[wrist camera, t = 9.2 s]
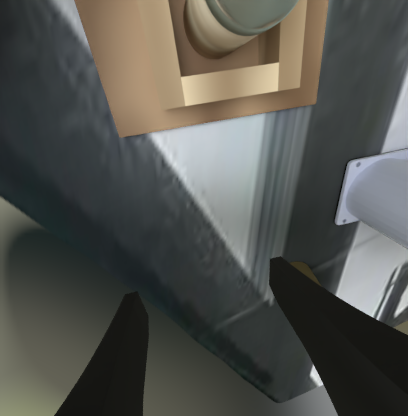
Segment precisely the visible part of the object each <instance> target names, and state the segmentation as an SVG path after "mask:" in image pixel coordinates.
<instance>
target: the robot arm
mask: <svg viewBox="0 0 408 416" xmlns="http://www.w3.org/2000/svg"><path fill="white" fill-rule="evenodd" d="M356 164H357V165H356ZM359 220H361V221H362V222H364V223H366V224H367V225H369V226H371V227H372V228H374V229H376V230H377V231H379V232H380V233H382V234H384V235H385V236H387V237H389V238H390V239H392V240H394V241H395V242H397V243H398V244H400V245H402V246H403V247H405V248H407V249H408V149H404V150H399V151H394V152H389V153H384V154H379V155H374V156H369V157H365V158H360V159H355V160H351V161H350V162H349V163H348V164H347V168H346V172H345V177H344V181H343V186H342V190H341V195H340V200H339V204H338V209H337V213H336V218H335V224H337V225H342V224H346V223H351V222H355V221H359ZM269 285H270V287H271V290H272V292H273V294H274V296H275V298H276V300H277V302H278V304H279V306H280V307H281V309H282V311H283V312H284V314H285V316H286V317H287V319H288V321H289V322H290V324H291V326H292V327H293V329H294V330H295V332H296V334H297V335H298V337H299V339H300V340H301V342H302V344H303V345H304V347H305V349H306V351H307V352H308V354H309V356H310V358H311V360H312V362H313V364H314V366H315V368H316V370H317V372H318V374H319V376H320V378H321V380H322V382H323V384H324V386H325V388H326V390H327V393H328V394H329V397H330V399H331V401H332V403H333V405H334V407H335V410H336V412H337V414H338V416H408V335H406V334H404V333H402V332H400V331H398V330H396V329H394V328H392V327H390V326H388V325H386V324H384V323H382V322H380V321H378V320H376V319H374V318H373V317H371V316H369V315H367V314H365V313H364V312H362V311H360V310H358V309H356V308H355V307H353V306H351V305H350V304H348V303H346V302H345V301H343V300H341V299H340V298H338V297H337V296H335V295H334V294H332V293H331V292H329V291H327V290H326V289H325V288H323V287H322V286H320V285H319V284H317V283H316V282H314V281H313V280H312V279H310V278H309V277H307V276H306V275H305V274H303V273H302V272H301V271H299V270H298V269H297V268H295V267H294V266H293V265H291V264H290V263H289V262H287V261H286V260H285V259H283V258H282V257H281V256H280V257H276V258H272V259H270V275H269ZM148 330H149V328H148V314H147V312H146V309H145V307H144V305H143V303H142V301H141V298H140V296H139V294H138V292H133V293H129V294H125V296H124V297H123V299H122V301H121V303H120V306H119V308H118V310H117V312H116V314H115V316H114V318H113V320H112V322H111V324H110V326H109V328H108V330H107V331H106V333H105V335H104V337H103V339H102V341H101V343H100V344H99V346H98V348H97V350H96V351H95V353H94V355H93V357H92V358H91V360H90V362H89V364H88V365H87V367H86V368H85V370H84V372H83V373H82V375H81V376H80V378H79V380H78V381H77V383H76V384H75V386H74V388H73V389H72V390H71V392H70V394H69V395H68V396H67V398H66V400H65V401H64V402H63V404H62V405H61V407H60V408H59V410H58V411H57V413H56V414H55V415H54V416H143V394H144V382H145V371H146V360H147V348H148V337H149V332H148Z"/></svg>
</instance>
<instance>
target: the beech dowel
mask: <svg viewBox="0 0 408 416" xmlns="http://www.w3.org/2000/svg"><path fill="white" fill-rule="evenodd" d="M298 1H299V0H186V1H185V5H184V10H183V25H184V30H185V34H186V36H187V39H188V41H189V43H190V45H191V46H192V47H193V49H194V50H195V51H196V52H197V53H198V54H200V55H201V56H203V57H205V58H208V59H220V58H223V57H225V56H227V55H228V54H230V53H231V52H233V51H234V50H236V49H238V48H239V47H241V46H242V45H244V44H245V43H247V42H248V41H250V40H251V39H253V38H254V37H256V36H257V35H259V34H261V33H263V32H265V31H267V30H269V29H270V28H272V27H273V26H275V25H276V24H278V23H279V22H281V21H282V20H283V19H284V18H285V17H286V16H287V15H288V14H289V13H290V12H291V11H292V10H293V8H294V7H295V5H296V4H297V2H298Z"/></svg>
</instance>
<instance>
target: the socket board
mask: <svg viewBox="0 0 408 416" xmlns="http://www.w3.org/2000/svg"><path fill="white" fill-rule="evenodd" d="M74 1H75V4H76V7H77V10H78V13H79V16H80V19H81V22H82V25H83V28H84V31H85V34H86V37H87V40H88V43H89V46H90V49H91V52H92V55H93V58H94V61H95V64H96V67H97V70H98V73H99V76H100V79H101V82H102V85H103V88H104V91H105V94H106V97H107V100H108V103H109V106H110V109H111V112H112V116H113V119H114V122H115V125H116V128H117V131H118V134H119V137H120V138H121V137H127V136H132V135H138V134H144V133H150V132H156V131H161V130H167V129H173V128H179V127H184V126H190V125H196V124H202V123H208V122H213V121H219V120H225V119H231V118H237V117H242V116H248V115H254V114H260V113H265V112H271V111H277V110H283V109H289V108H294V107H300V106H306V105H312V104H316V99H317V91H318V83H319V74H320V66H321V58H322V50H323V42H324V34H325V25H326V17H327V9H328V1H329V0H299V1H298V2H297V4H296V5H295V7H294V8H293V10H292V11H291V12H290V13H289V14H288V15H287V16H286V17H285V18H284V19H283V20H282V21H281V22H279V23H278V24H276V25H275V26H273V27H272V28H270V29H269V30H267V31H265V32H263V33H261V34H259V35H257V36H256V37H254V38H253V39H251V40H250V41H248V42H247V43H245V44H244V45H242V46H241V47H239V48H238V49H236V50H234V51H233V52H231V53H230V54H228V55H227V56H225V57H223V58H220V59H208V58H205V57H203V56H201V55H200V54H198V53H197V52H196V51H195V50H194V49H193V47H192V46H191V45H190V43H189V41H188V39H187V36H186V34H185V30H184V25H183V10H184V5H185V1H186V0H74Z"/></svg>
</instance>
